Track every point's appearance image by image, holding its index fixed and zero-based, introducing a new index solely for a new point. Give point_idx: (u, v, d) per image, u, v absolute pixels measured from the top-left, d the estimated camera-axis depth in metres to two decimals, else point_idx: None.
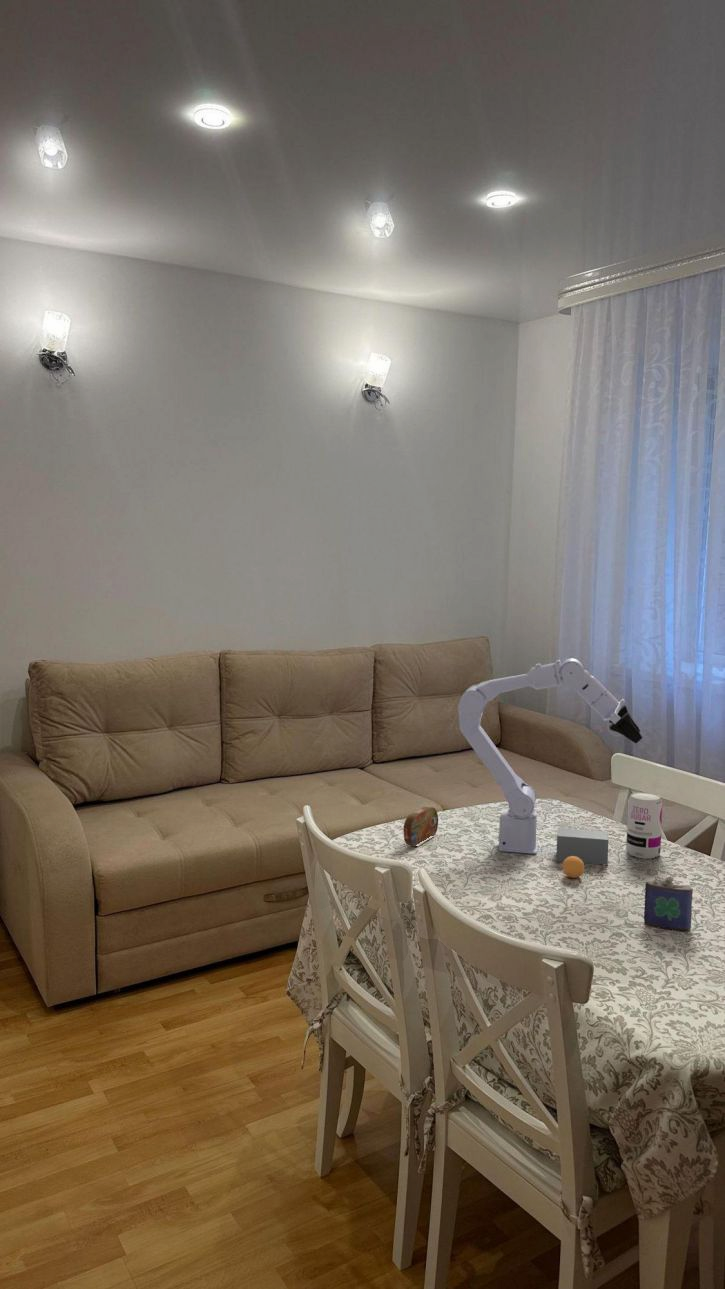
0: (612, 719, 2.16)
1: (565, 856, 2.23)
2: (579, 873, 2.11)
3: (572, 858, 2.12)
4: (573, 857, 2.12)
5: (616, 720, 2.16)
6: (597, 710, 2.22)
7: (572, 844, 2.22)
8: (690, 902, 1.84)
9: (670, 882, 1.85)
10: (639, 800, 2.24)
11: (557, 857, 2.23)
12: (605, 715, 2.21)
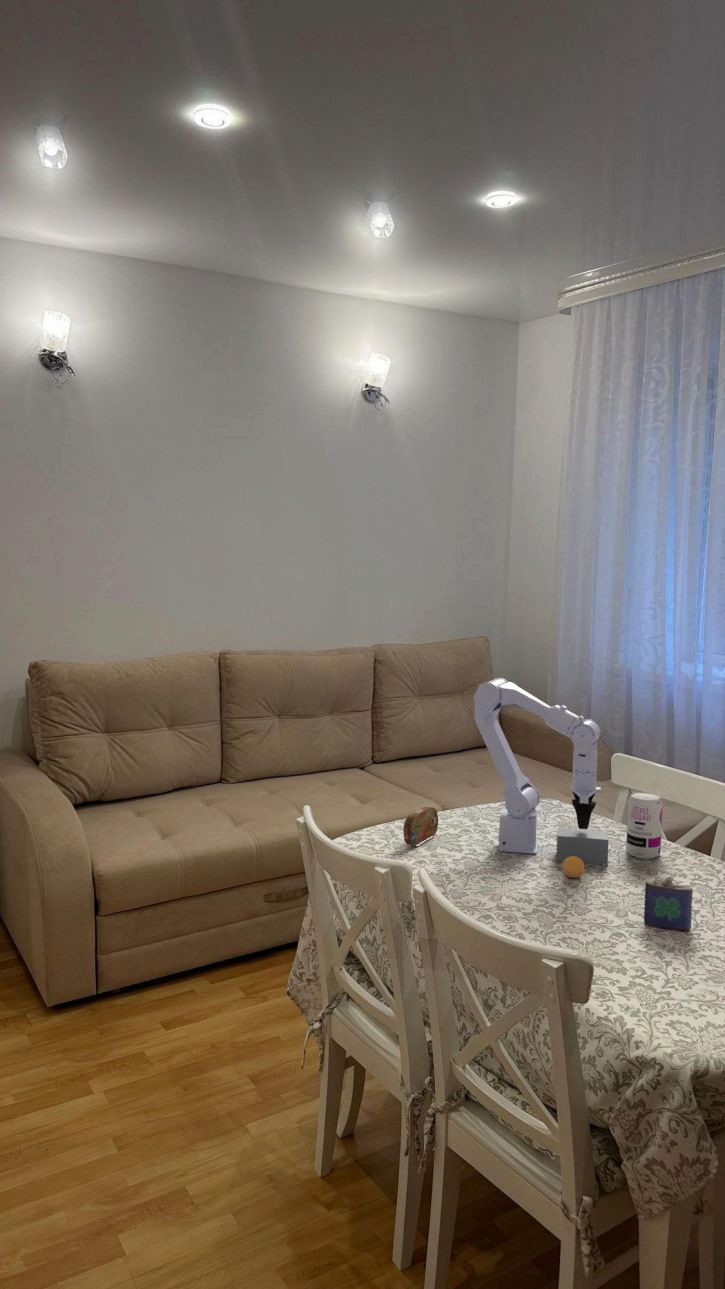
0: (581, 798, 2.16)
1: (565, 856, 2.23)
2: (579, 873, 2.11)
3: (572, 858, 2.12)
4: (573, 857, 2.12)
5: (583, 801, 2.16)
6: (575, 779, 2.21)
7: (572, 844, 2.22)
8: (690, 902, 1.84)
9: (670, 882, 1.85)
10: (639, 800, 2.24)
11: (557, 857, 2.23)
12: (577, 788, 2.21)
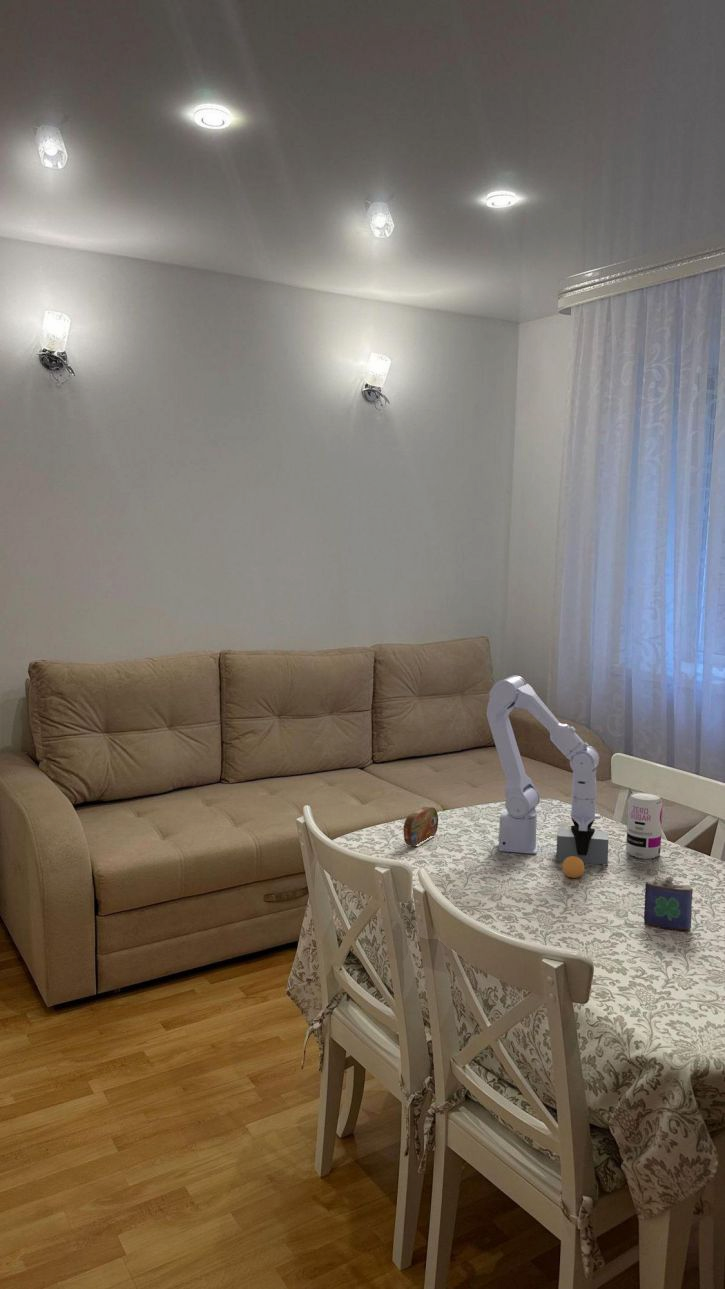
0: (580, 826, 2.17)
1: (565, 856, 2.23)
2: (579, 873, 2.11)
3: (572, 858, 2.12)
4: (573, 857, 2.12)
5: (582, 829, 2.17)
6: (574, 806, 2.22)
7: (572, 844, 2.22)
8: (690, 902, 1.84)
9: (670, 882, 1.85)
10: (639, 800, 2.24)
11: (557, 857, 2.23)
12: (576, 815, 2.22)
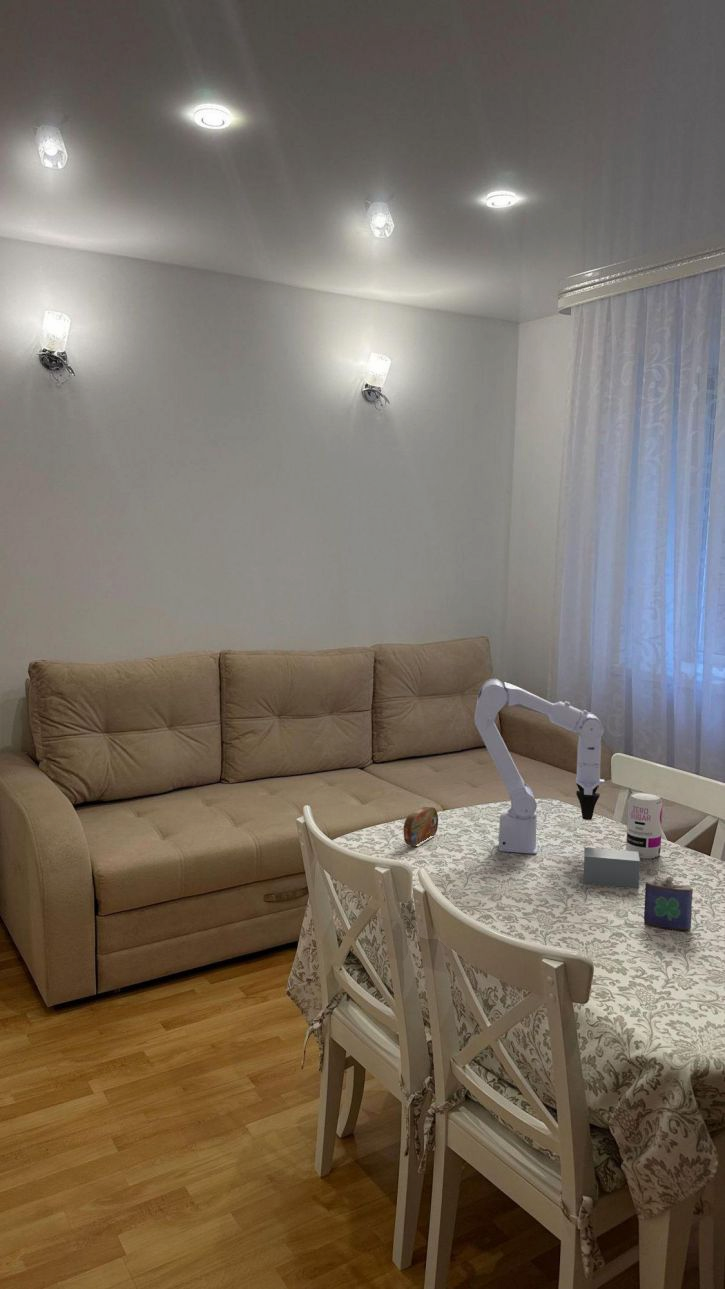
0: (586, 790, 2.22)
1: (593, 878, 2.09)
2: None
3: None
4: None
5: (588, 793, 2.22)
6: (579, 771, 2.27)
7: (601, 865, 2.08)
8: (690, 902, 1.84)
9: (670, 882, 1.85)
10: (639, 800, 2.24)
11: (584, 879, 2.09)
12: (581, 780, 2.27)
